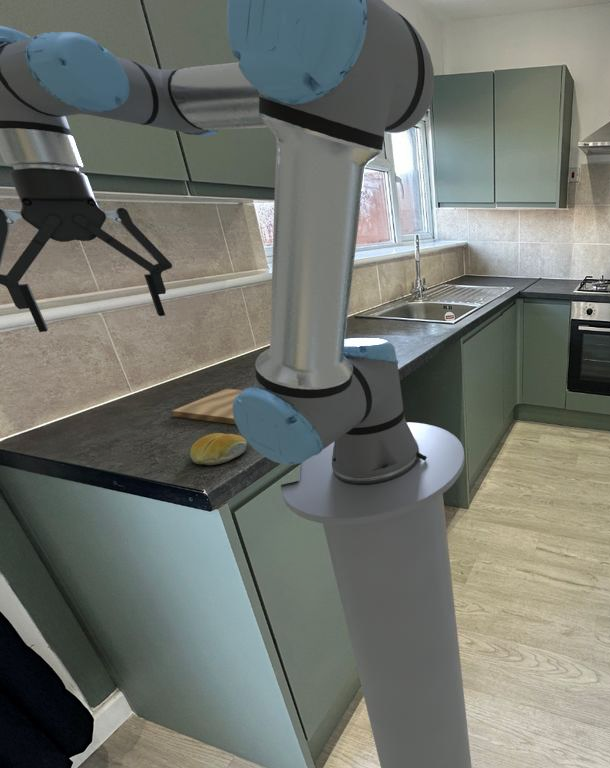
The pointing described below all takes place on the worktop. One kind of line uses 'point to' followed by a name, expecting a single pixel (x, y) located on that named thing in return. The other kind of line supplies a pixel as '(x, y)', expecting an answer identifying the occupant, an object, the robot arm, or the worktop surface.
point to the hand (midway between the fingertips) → (106, 322)
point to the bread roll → (217, 448)
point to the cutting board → (211, 407)
